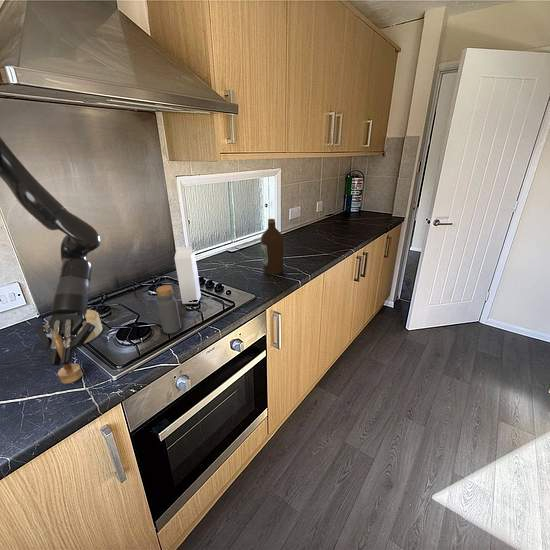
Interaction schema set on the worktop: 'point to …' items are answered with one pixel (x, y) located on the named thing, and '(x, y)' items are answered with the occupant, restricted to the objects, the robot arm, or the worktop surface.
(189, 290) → the milk
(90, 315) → the bowl
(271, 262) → the olive oil
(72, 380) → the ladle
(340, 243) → the worktop surface
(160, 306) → the bottle
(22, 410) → the worktop surface
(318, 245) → the worktop surface
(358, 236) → the worktop surface
